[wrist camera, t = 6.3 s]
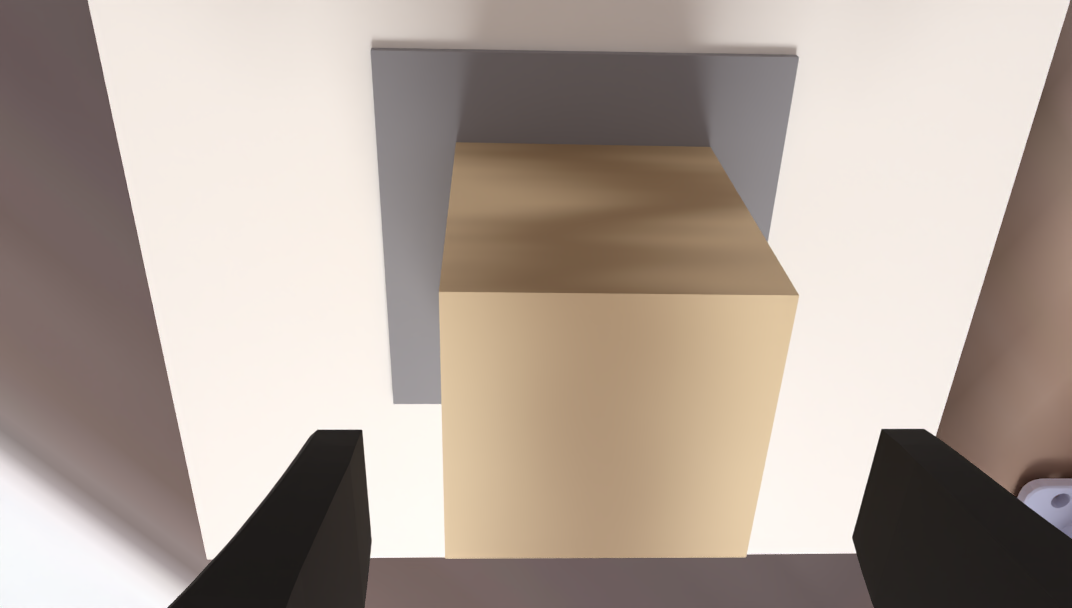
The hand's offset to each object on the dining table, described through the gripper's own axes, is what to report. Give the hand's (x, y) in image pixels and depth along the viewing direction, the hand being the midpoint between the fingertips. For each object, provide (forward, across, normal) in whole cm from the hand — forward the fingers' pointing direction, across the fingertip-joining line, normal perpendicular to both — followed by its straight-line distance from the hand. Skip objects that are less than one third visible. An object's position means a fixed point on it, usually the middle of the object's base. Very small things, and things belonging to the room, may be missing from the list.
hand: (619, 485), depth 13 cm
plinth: (+9, 0, 0) cm, 9 cm away
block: (+7, 0, 0) cm, 7 cm away
